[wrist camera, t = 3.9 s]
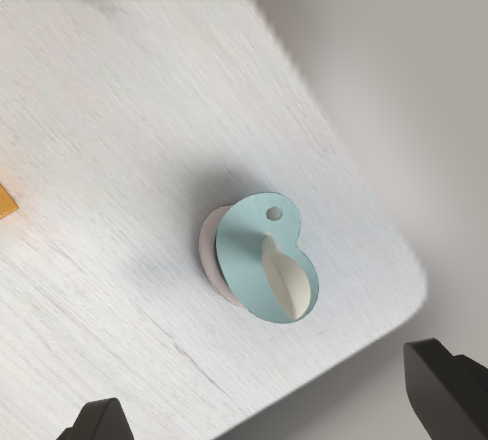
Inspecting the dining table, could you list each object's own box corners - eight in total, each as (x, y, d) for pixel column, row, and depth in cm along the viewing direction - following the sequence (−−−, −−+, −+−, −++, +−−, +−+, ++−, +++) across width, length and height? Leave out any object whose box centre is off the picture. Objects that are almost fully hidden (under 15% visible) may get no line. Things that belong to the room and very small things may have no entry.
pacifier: (225, 315, 20) (319, 289, 19) (216, 400, 14) (352, 366, 13) (182, 208, 18) (286, 174, 17) (149, 253, 12) (306, 204, 11)
